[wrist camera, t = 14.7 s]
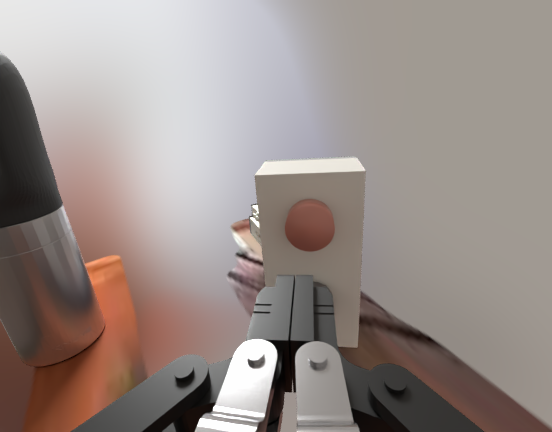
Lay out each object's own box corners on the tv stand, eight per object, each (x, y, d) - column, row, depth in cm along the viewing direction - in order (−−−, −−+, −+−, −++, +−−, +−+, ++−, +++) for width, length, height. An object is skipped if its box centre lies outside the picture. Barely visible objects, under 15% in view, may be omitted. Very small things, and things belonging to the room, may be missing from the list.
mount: (271, 343, 35) (254, 175, 27) (277, 306, 41) (265, 160, 33) (357, 347, 33) (365, 170, 26) (351, 308, 40) (355, 156, 32)
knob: (286, 251, 27) (283, 206, 25) (292, 218, 34) (290, 182, 33) (334, 251, 26) (335, 205, 25) (330, 217, 34) (330, 180, 32)
